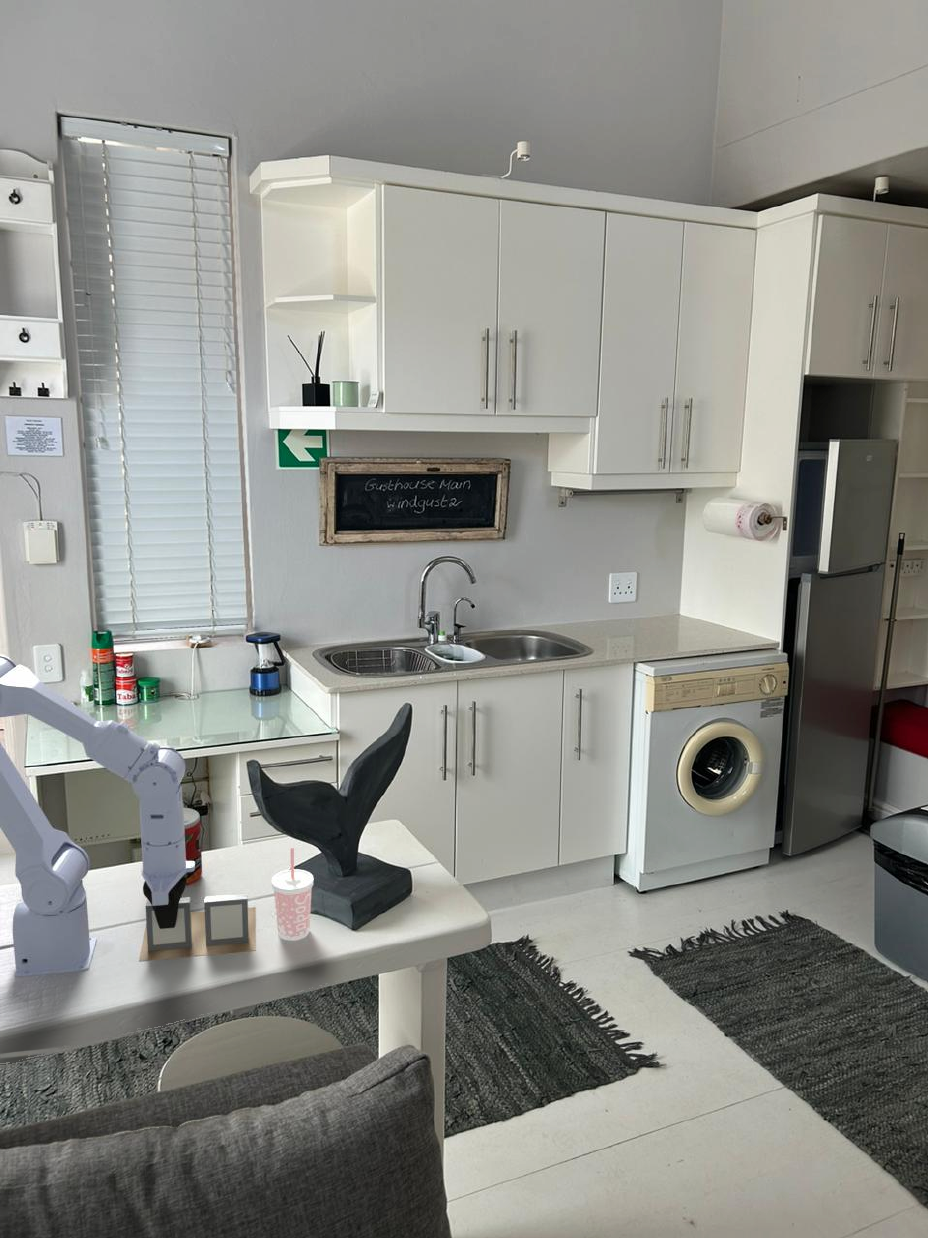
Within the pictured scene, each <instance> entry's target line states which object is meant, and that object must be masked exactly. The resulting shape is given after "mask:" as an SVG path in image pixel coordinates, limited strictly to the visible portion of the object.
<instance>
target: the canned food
mask: <svg viewBox="0 0 928 1238" xmlns="http://www.w3.org/2000/svg"><path fill="white" fill-rule="evenodd" d="M184 830H185V853H186V861H194V862H195V869H194V871H192V872H187V880H186V887H188V886H190V885H192V884H193V885H194V884H195V883H196V882H198V881H199V880H200V879H201V878H202V876H203V875H202V874H203V862H202V861H203V857H202V856H203V855H202V827H201V817H200V813H199V811H197V810H195V809H193V808H190V807H189V808H188V807H184Z"/></svg>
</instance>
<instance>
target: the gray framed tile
mask: <svg viewBox="0 0 928 1238" xmlns="http://www.w3.org/2000/svg"><path fill="white" fill-rule="evenodd" d="M248 898H249V895H248V892H246V893H234V894H233V893H232V894H224V895H223V894H221V895H219V894H218V895H211V896H210V895H209V896H204V901H203V902H204V903H203V906H204V912H205V933H206V946H215V945H226V944H237V943H248V942H249V928H248V908H249V902H248V900H249V899H248Z"/></svg>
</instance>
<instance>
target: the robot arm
mask: <svg viewBox="0 0 928 1238" xmlns="http://www.w3.org/2000/svg"><path fill="white" fill-rule="evenodd" d="M21 715H22V716H23V715H28V716H31V717H32V718H34V719H36V720H38V721H40V722H42V723H44V724H46V725H48V726H50V727H52V728H53V729H56V730H57V731H59V732H61V733H63V734H65V735H67V736H69V737H71V738H72V739H74V740H76V741H78V742H79V743H82V746H83V749H84V752H85V755H86V758H89V759H90V760H93V762H95V763H97V764H99V765H100V766H102V767H103V768H106V769H107V770H109V771H110V772H111V773H114V774H115V775H117V776H119V777H121V779H124V780H125V781H126V782H129V783H131V787H132V791H133V792H134V794H135V795H136V797H137V798H138V799H139V819H140V820H139V822H140V837H141V839H140V840H141V856H142V866H141V876H142V878H143V880H144V882H143V885H142V892H143V894H144V897H146V899H147V901H149V902H150V903H151V905H152V907H153V910H154V913H155V916H156V920H157V923H158V926H159V928H160V929H166V928H175V925H176V920H177V914H178V906H179V901H180V898H182V896H183V895H184V891H185V890H186V887H187V886H186V880H187V872H192V871H194V869H195V862H194V861H186V853H185V830H184V808H185V807H184V801H183V789H182V788H183V786H182V784H181V782H182V780H183V778H184V776H185V773H186V762H185V759H184V757H183V756H182V755H181V754H180V753H179V752H178V751H177V750H176V749H175V747H173V746H167V745H161V746H160V745H159V744H158V743H156V742H153V744H152V743H151V742H149V741H148V740H146V739H144V738H142V737H141V736H140V735H138V734H136V733H135V732H133V731H131V730H130V728H131V726H130V725H129V724H128V723H126V722H125V721H123V720H121V721H120V723H119V722H117V721H115V720H113V719H108V720H101V721H98V720H97V719H96V718H94V717H93V716H91V715H90V714H88V713H87V712H85V711H84V710H83V709H81V708H80V707H78V706H76V705H75V704H74V703H72V702H71V701H69V700H68V699H66V698H65V697H64V696H62V695H61V694H60V693H58V692H57V691H55V690H53V689H52V688H51V687H49V686H48V685H47V684H46V683H43V682H42V681H41V680H40V679H39V678H38V677H37V676H36V675H35V674H34V673H33V672H32V671H31V670H30V668H28V667H26V666H24V665H22V664H17V663H16V662H15V661H14V660H13V659H12V658H11V657H8V656H7V655H4V654H0V718H8V717H15V716H21ZM0 830H1V831H2V833H3V834H4V836H5V837H6V839H7V840H8V842H9V844H10V845H11V848H12V849H13V850H14V852H15V869H14V871H15V872H14V873H15V874H14V875H15V877H16V878H17V880H18V882H19V884H20V888H21V898H22V900H23V901H22V902H19V903H17V904H16V906H15V909H14V913H13V917H12V918H13V919H12V941H13V952H14V962H15V963H14V964H15V974H14V977H15V978H18V977H19V978H21V977H30V976H41V975H51V974H52V975H54V974H63V973H64V974H65V973H73V972H84V971H88V970H89V969H90V966H91V962H92V959H93V956H94V952H95V947H96V945H97V941H98V938H97V937H90V928H89V915H88V902H87V901H88V900H87V892H86V891H87V890H86V889H85V887H84V883H83V881H84V880H83V879H84V878H85V877H86V876H87V875H88V873H89V871H90V867H91V866H90V865H91V864H90V862H91V861H90V857H89V856H88V855H89V854H88V853H87V852H86V851H85V849H83V848H82V847H81V846H79V845H77V844H76V843H75V842H74V841H72V839H70V837H69V835H68V833H67V832H65V831H63V830H59V829H56V828H54V827H53V826H52V824H51V823H50V821H49V820H48V818H47V816H46V814H45V813H44V811H43V810H42V808H41V806H40V805H39V803H38V802H37V800H36V798H35V797H34V795H33V794H32V792H31V790H30V788H29V787H28V785H27V783H26V782H25V780H24V778H23V777H22V775H21V773H20V772H19V770H18V769H17V767H16V766H15V764H14V762H13V761H12V759H11V757H10V756H9V754H8V753H7V751H6V749H5V748H4V746H3V744H2V743H1V742H0Z"/></svg>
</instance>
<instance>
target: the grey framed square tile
mask: <svg viewBox="0 0 928 1238" xmlns="http://www.w3.org/2000/svg"><path fill="white" fill-rule="evenodd" d="M191 913H192V902H191V896H189V897H187V896H185V897H181V898H180V901H179V906H178V914H177V920H176V925H175V928H166V929H160V928H159V926H158V923H157V920H156V916H155V913H154V910H153V907H152V905H151V903H150V902H149V900H146V902H145V922H146V924H147V944H148V951H157V950H168V949H179V948H190V947H192V923H191ZM146 924H145V925H146Z"/></svg>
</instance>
